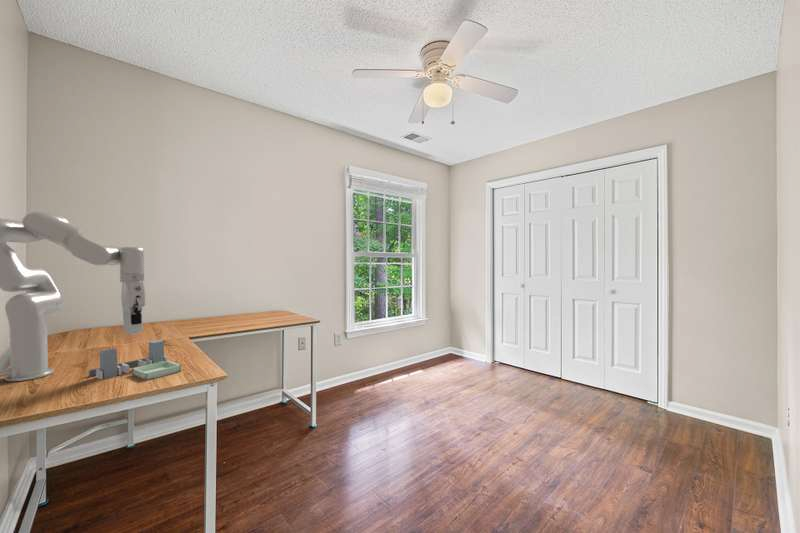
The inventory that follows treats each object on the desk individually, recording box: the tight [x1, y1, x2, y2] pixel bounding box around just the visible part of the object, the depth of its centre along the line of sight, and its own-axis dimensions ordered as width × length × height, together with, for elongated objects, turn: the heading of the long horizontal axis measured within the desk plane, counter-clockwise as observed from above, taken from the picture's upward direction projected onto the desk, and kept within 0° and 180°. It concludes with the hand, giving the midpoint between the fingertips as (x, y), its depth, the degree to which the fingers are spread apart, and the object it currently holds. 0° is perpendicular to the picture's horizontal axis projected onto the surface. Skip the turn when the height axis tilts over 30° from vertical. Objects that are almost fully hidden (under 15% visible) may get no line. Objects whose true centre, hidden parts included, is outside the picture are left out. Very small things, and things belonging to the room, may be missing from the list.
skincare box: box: [121, 303, 144, 335], centre depth 136 cm, size 6×4×12 cm
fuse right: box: [148, 339, 165, 364], centre depth 143 cm, size 4×4×10 cm
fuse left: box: [99, 347, 118, 380], centre depth 129 cm, size 4×4×10 cm
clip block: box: [88, 355, 168, 381], centre depth 136 cm, size 24×11×3 cm, turn 148°
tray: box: [132, 360, 182, 381], centre depth 133 cm, size 12×11×2 cm
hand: (132, 322), depth 136 cm, fingers closed on skincare box, 6 cm apart
